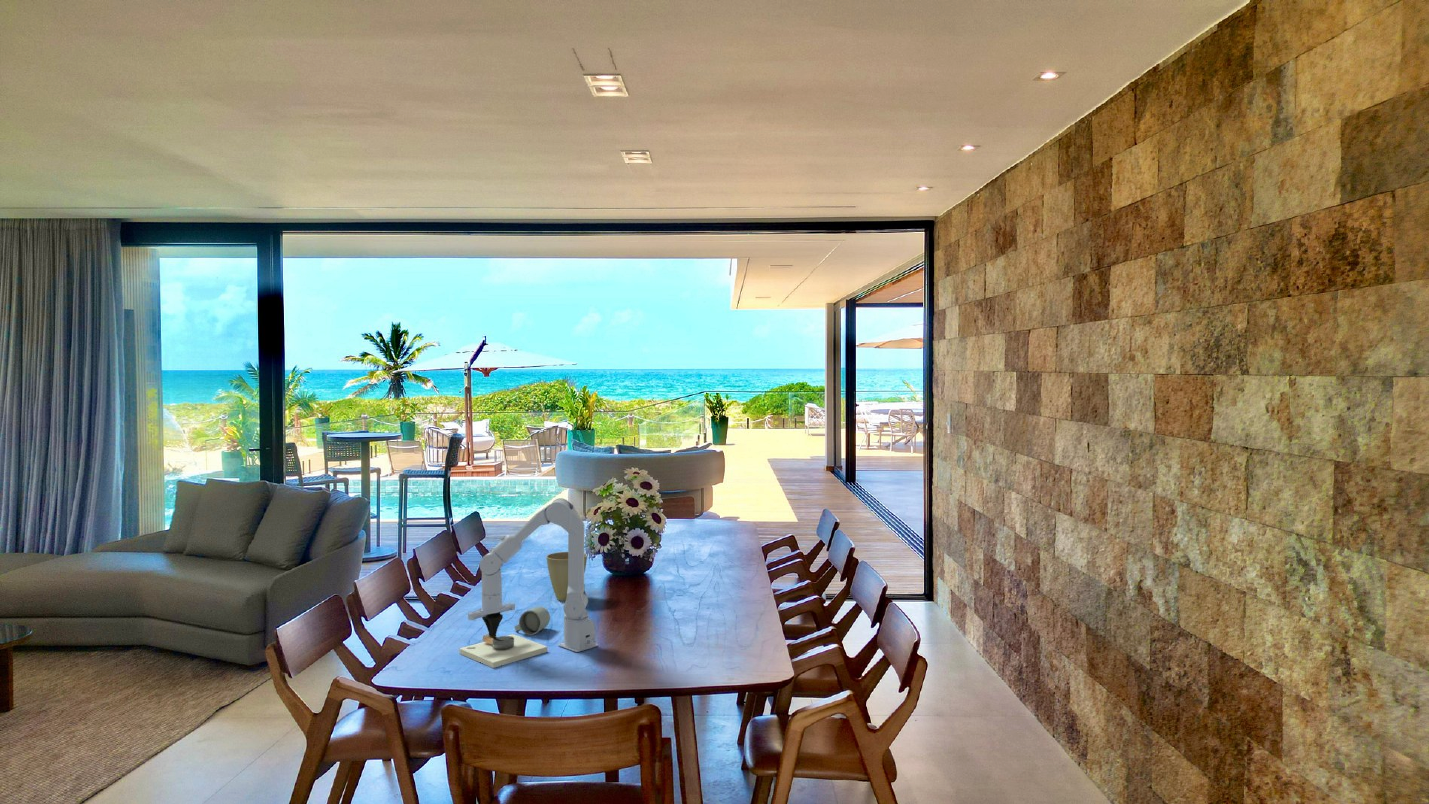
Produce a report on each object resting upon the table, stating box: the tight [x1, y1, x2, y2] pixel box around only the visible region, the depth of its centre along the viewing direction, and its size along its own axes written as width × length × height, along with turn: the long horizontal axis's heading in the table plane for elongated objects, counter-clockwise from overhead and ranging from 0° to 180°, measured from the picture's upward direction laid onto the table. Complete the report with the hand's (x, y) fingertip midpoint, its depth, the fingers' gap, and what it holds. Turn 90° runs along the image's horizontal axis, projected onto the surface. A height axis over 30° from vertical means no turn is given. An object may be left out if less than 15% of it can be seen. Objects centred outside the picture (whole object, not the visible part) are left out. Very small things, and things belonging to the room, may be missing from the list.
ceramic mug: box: [514, 606, 551, 636], centre depth 247 cm, size 11×8×8 cm
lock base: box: [458, 633, 548, 669], centre depth 226 cm, size 18×18×2 cm
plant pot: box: [545, 551, 588, 602], centre depth 286 cm, size 15×15×16 cm
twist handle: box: [482, 633, 514, 650], centre depth 228 cm, size 11×6×2 cm, turn 56°
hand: (492, 638), depth 231 cm, fingers closed, pressing on twist handle
